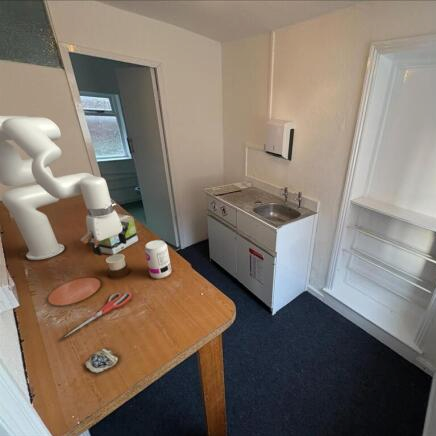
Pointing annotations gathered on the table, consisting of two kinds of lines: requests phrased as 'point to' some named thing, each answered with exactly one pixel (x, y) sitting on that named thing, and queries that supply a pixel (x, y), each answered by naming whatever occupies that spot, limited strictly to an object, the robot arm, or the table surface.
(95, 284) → the plate
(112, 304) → the scissors
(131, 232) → the tea box
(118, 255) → the cylinder
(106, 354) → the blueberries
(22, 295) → the table surface
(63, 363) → the table surface
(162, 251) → the supplement can
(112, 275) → the cylinder
